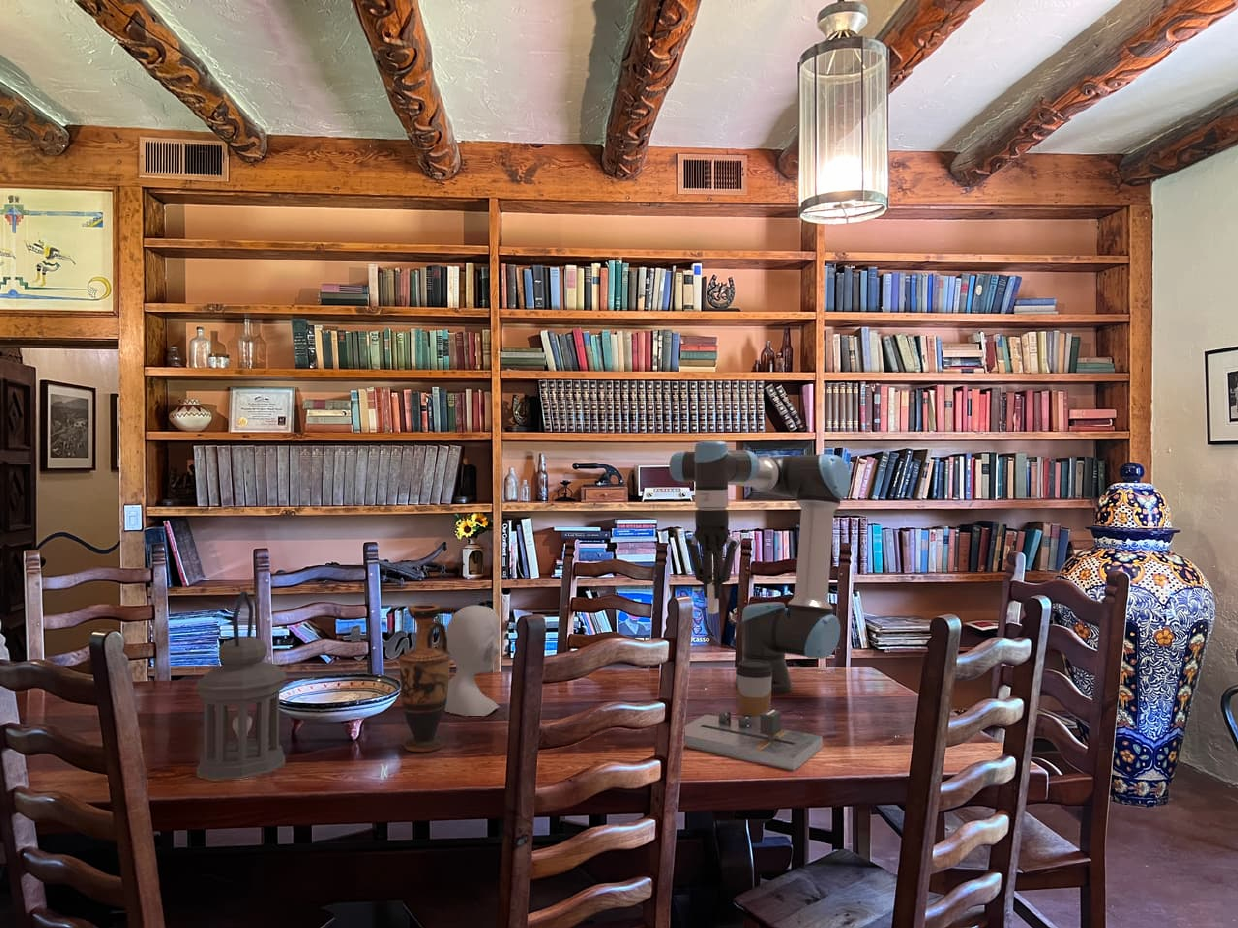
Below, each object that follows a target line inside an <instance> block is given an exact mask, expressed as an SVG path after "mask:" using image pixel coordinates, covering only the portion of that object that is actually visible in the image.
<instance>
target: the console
mask: <svg viewBox="0 0 1238 928" xmlns="http://www.w3.org/2000/svg"><path fill="white" fill-rule="evenodd" d="M684 726H685V747H684V748H688V749H691V750H692V749H693V750H698V751H702V752H706V753H710V754H711V753H712V754H716V755H721V756H725V757H730V758H734V759H740V760H744V761H749V762H752V763H757V764H762V765H766V766H770V767H771V766H772V767H775V768H780V769H786V770H790V771H796V770H797V769H798V768H800V767H801V766H802V765H803V764H804V763H806V762H807V761H809V760H810V759H811V758H812V757H813V756H815V754H817V753H818V752H819V751H821V750H822V749H823V745H824V744H823V741H824V740H823V736H822V735H818V734H817V735H816V734H813V733H807V732H806V733H805V732H802V731H796V730H792V729H785V728H781V731H780V732H778V733H777V734H775V735H774V741H771V740H768V735H765V734H760V725H759V724H754V723H751V716H750V715H738V719H732V712H731V711H727V710H721V711H718V716H717V715H711V714H705V715H703V716H700V717H699V718H696V719H695V720H693V721H692V722H689V723H687V724H685V725H684Z"/></svg>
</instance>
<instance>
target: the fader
mask: <svg viewBox="0 0 1238 928" xmlns="http://www.w3.org/2000/svg"><path fill="white" fill-rule="evenodd" d="M781 729H782V712H781V711H779V710H776V709H770V710H767V711H766V712H764V713H762V714H760V734H765V735H768V740H771V741H774V735H775V734H777V733H778V732H780V731H781Z"/></svg>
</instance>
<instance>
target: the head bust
mask: <svg viewBox="0 0 1238 928" xmlns="http://www.w3.org/2000/svg"><path fill="white" fill-rule="evenodd" d="M445 632H446V637H447V648H448V651H449V653H450V655H451V656H450V660H451V661H453V663H454V664H455V667H456V671H455V674H454V676H453V677H451V678H449V682H448V694H447V701H446V706H445V710H444V711H445V712H444V713H446V712H449V713H448V714H454V715H459V716H464V717H468V716H482V717H485V716H488V715H490V714H491V713H493V712H494V711H495V710H496V709H499V708H500V706H499V705H498V704H497V702H496V701H494V700H493V699H491V698H489V697H488V696H485V695H484V694H483V693H482V692H481V690H480V689H479V687H478V686H477V684H476V682H475V678H474V677H475V675H476V674H478V673H490V672H492V670H493V669H494V663H495V661H496V658H497V655H498V654H499V653H500V651H501V648H500V645H499V644H498V642H499V638H500V617H499V615H498V614H497V613H496V611H495V610H494V609H492V608H490V607H488V606H482V605H470V606H466V607H463V608H461V609H459V610H457V611H456V612H455V613H454V614H453V615H452V616H451V618H450V620H449V622H448V625H447V628H446V631H445Z"/></svg>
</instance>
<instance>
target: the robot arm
mask: <svg viewBox="0 0 1238 928" xmlns="http://www.w3.org/2000/svg"><path fill="white" fill-rule="evenodd" d="M669 473H670V476H671V478H673V480H674V481H677V482H681V483H688V482H689V483H694V484H695V485H694V486H695V487H694V488H695V490H694V491H695V492H694V498H695V501H694V503H695V505H694V507H696V508H697V509H695V512H694V513H695V515H694V517H695V519H694V520H695V521H694V522H695V531H694V532H693V535H692V536H691V537H690V538H686V539H685V540H684V543H685V545H686V547H687V548H688V549H689V554H690V559H691V563H692V568H693V571H694V575H695V579H696V581H697V582H698V581H699V582H700V583H703V597H704V598H705V599H706V601H707V605H706V606H707V614H710V615H714V614H717V613H719V612H720V611H719V608H720V607H719V602H720V601H719V599H722V598H723V597H722V596H723V592H722V591H723V584H724V583H726V582H729V581H730V579H731V576H732V571H733V567H734V562H735V561H734V560H735V557H736V552H737V549H738V548H739V546H740V544H741V541H740V540H739V539H735V538H734V537H732V536H731V532H730V530H729V529H730V528H729V525H730V524H729V513H730V512H729V511H728V509H727V508H728V507H729V486H736V487H737V486H738V487H747V488H749V487H750V488H753V489H754V490H755V491H757V492H761V493H769V494H773V495H778V496H782V497H790V498H796V500H795V503H796V504H797V505H798V506H799V508H800V520H799V533H798V534H799V535H798V545H797V558H796V570H795V571H796V572H795V573H796V574H795V582H794V584H795V585H794V597H793V598H792V599H791V600H790V601H788V602H787V607H786V605H785V603H784V602H780V601H779V602H777V601H776V602H775V601H774V602H771V601H770V602H762V603H761V602H760V603H754V604H748V605H746V606H744V607H743V609H742V616H741V625H742V627H741V628H742V629H741V631H742V632H741V633H742V634H741V636H742V638H741V642H742V643H741V644H742V648H741V649H742V655H741V656H742V657H741V661H744V660H760V661H765V662H768V663H770V667H771V668H772V674H773V675H772V679H771V695H777V694H783V693H788V692H790V691H791V690H792V686H793V684H792V678H791V674H790V672H789V668H788V665H787V661H786V655H787V654H788V655H794V656H800V657H806V658H807V659H818V660H819V659H820V660H821V659H827V658H828V657H829V656H830V655H832V654H833V652H834V651H835V650H836V648H837V646H838V643H839V640H840V635H841V624H840V620H839V618H838V617H837V616H836V615H834V614H833V611H834V610H833V609H834V608H833V606H832V605H831V604H830V603H829V601H828V595H829V582H830V581H829V580H830V568H831V553H832V542H833V541H832V540H833V528H834V526H833V525H834V513H835V511H836V510H837V509H839V507H840V506H841V499H844V498H846V497H848V496H849V492H850V490H851V473H850V471H849V467H848V466H847V463H846V462H845V461H844V460H843V458H842V457H840V456H839V455H835V454H825V453H822V454H803V455H801V454H800V455H799V454H798V455H795V454H794V455H793V454H791V455H783V456H775V457H774V456H773V457H765V456H762V457H759V456H757V455H756V453H754V451H753V452H752V451H750V450H745V449H737V450H735V449H731V450H729V447H728V443H727V442H726V441H724V440H706V441H698V442H696V443H695V446H694V451H687V450H684V451H678V452H676V453H674V454H673V455H672V456H671V458H670V460H669ZM698 544H699V545H698ZM725 545H726V546H727V549H726V552H725V556H724V560H723V554H724V547H725ZM699 546H701V551H700V549H699ZM701 554H702V557H701ZM786 608H787V609H786ZM735 687H736V688H737V689H738V681H737V676H736V677H735Z"/></svg>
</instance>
